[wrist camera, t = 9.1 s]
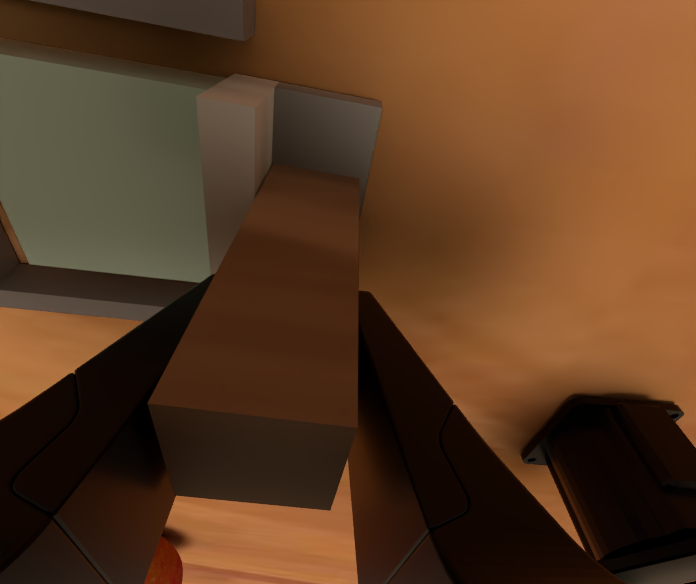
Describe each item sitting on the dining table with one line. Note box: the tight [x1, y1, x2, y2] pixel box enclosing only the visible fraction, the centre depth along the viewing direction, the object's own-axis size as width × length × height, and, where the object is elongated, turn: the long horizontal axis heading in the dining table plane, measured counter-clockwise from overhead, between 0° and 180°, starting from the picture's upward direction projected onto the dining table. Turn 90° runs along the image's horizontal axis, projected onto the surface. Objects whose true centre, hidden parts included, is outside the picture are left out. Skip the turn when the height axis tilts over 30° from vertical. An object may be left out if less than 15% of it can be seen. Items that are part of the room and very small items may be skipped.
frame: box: [0, 0, 255, 321], centre depth 11 cm, size 10×9×2 cm
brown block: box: [147, 73, 382, 510], centre depth 9 cm, size 6×4×9 cm, turn 171°
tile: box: [0, 37, 226, 283], centre depth 11 cm, size 6×6×2 cm
